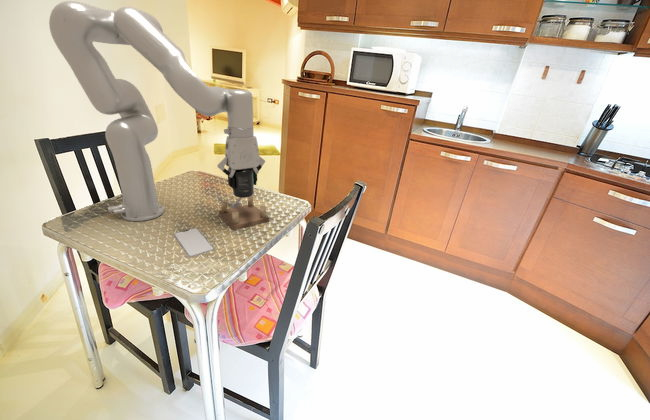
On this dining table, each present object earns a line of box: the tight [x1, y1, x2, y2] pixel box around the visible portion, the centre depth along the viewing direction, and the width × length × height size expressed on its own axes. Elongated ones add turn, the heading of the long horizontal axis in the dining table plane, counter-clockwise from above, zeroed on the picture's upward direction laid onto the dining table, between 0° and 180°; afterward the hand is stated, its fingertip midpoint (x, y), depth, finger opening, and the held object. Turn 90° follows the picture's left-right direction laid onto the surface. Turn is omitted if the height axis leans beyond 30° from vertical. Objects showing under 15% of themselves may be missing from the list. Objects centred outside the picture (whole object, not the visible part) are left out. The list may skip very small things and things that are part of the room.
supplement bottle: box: [232, 168, 255, 199], centre depth 98 cm, size 7×7×12 cm
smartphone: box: [173, 227, 215, 258], centre depth 88 cm, size 7×1×15 cm
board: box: [218, 195, 270, 231], centre depth 103 cm, size 13×13×6 cm
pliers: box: [216, 194, 242, 208], centre depth 115 cm, size 10×1×20 cm
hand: (243, 185), depth 99 cm, fingers closed on supplement bottle, 6 cm apart
